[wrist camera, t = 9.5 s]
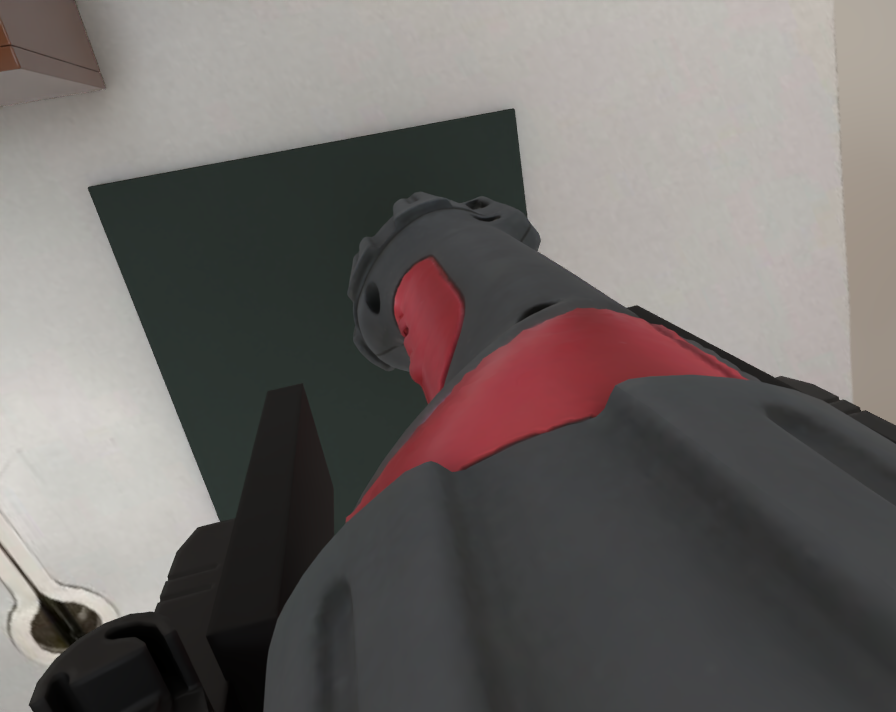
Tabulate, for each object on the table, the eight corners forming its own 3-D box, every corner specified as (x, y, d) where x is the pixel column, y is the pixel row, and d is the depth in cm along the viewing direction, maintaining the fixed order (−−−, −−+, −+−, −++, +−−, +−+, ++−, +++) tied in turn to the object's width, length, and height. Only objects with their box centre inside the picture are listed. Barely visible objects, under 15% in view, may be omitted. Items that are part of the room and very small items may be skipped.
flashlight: (308, 365, 24) (185, 1737, 3) (314, 176, 22) (0, 1004, 1) (481, 371, 26) (1112, 1312, 5) (506, 197, 24) (1960, 646, 3)
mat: (512, 108, 34) (514, 108, 33) (571, 611, 49) (573, 615, 48) (90, 186, 31) (87, 187, 30) (290, 694, 46) (290, 699, 46)
